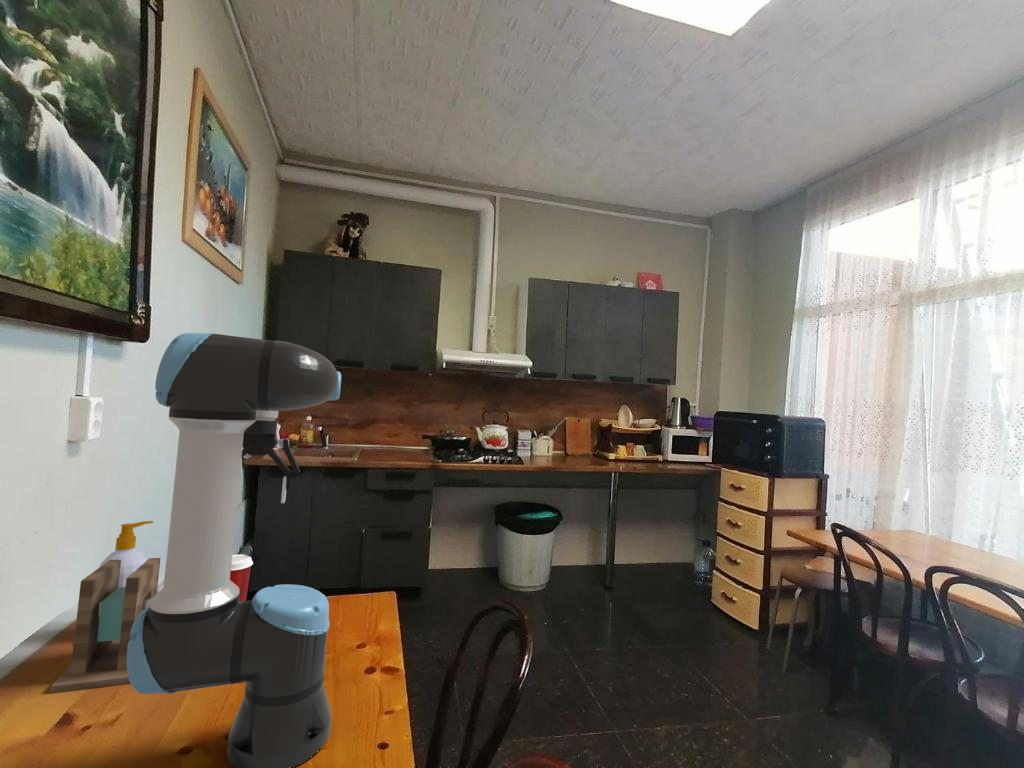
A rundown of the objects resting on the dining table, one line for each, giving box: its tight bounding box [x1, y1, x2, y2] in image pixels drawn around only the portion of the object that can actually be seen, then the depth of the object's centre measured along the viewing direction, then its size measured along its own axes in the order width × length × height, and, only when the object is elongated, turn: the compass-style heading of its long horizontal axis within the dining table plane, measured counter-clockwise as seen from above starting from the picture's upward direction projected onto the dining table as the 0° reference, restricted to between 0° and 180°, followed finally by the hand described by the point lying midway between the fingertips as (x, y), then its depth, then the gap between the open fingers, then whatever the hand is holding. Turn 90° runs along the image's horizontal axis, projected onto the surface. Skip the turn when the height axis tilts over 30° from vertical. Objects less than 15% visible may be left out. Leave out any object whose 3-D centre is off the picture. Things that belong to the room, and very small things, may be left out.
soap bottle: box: [98, 520, 154, 587], centre depth 106 cm, size 9×9×24 cm
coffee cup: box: [230, 554, 254, 601], centre depth 113 cm, size 8×8×15 cm
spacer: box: [97, 587, 126, 642], centre depth 94 cm, size 8×4×8 cm, turn 21°
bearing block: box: [49, 557, 161, 694], centre depth 95 cm, size 18×17×18 cm
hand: (253, 502), depth 118 cm, fingers open, 13 cm apart
